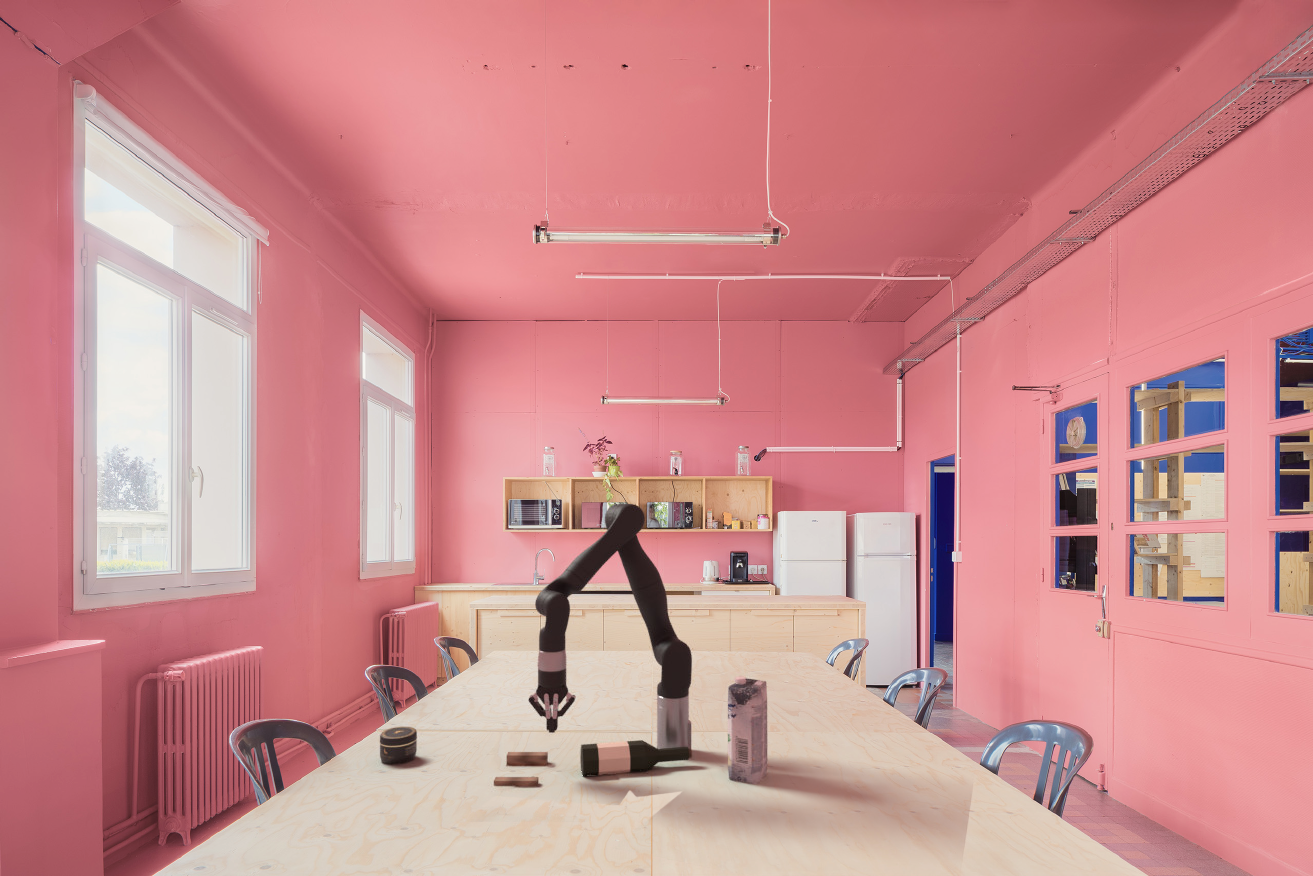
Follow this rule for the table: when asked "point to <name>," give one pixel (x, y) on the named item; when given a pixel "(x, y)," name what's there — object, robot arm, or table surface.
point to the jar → (398, 745)
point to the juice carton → (747, 730)
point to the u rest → (523, 760)
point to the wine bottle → (626, 757)
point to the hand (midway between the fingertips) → (552, 731)
